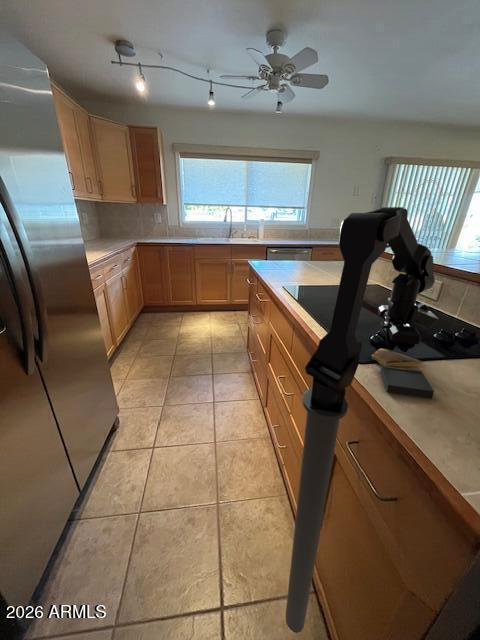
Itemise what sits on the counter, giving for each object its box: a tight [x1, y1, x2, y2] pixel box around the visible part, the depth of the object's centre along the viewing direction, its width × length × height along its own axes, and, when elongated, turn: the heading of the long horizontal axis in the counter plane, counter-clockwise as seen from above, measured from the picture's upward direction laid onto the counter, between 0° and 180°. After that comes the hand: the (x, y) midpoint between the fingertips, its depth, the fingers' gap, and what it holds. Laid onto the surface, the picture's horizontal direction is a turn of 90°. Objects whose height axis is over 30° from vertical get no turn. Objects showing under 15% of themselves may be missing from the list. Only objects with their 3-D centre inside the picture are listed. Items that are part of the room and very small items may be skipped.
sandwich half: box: [371, 348, 425, 368], centre depth 70 cm, size 11×8×2 cm
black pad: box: [379, 365, 435, 400], centre depth 62 cm, size 9×8×2 cm
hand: (390, 349), depth 74 cm, fingers closed
